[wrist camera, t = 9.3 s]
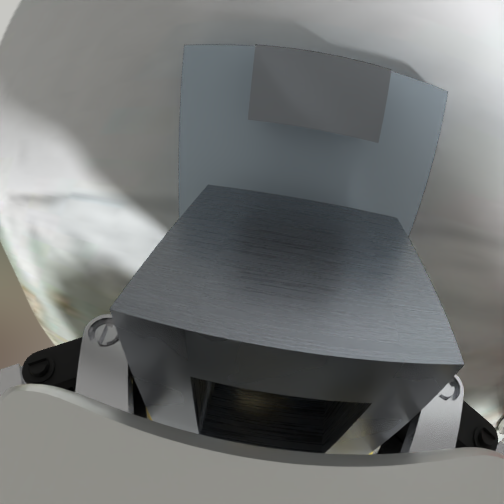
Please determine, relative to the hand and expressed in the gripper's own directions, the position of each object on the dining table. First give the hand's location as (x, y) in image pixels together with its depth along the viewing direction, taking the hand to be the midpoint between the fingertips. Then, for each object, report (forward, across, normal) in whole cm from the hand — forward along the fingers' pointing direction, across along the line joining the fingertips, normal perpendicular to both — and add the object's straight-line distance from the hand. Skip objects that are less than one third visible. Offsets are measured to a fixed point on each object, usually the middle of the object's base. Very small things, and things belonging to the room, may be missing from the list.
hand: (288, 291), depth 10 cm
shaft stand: (+4, 0, 0) cm, 4 cm away
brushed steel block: (+1, 0, 0) cm, 1 cm away
